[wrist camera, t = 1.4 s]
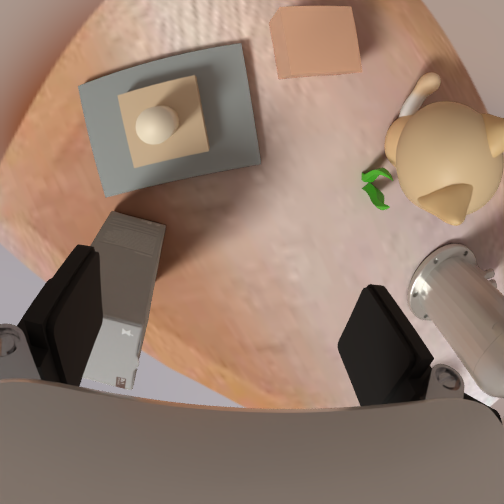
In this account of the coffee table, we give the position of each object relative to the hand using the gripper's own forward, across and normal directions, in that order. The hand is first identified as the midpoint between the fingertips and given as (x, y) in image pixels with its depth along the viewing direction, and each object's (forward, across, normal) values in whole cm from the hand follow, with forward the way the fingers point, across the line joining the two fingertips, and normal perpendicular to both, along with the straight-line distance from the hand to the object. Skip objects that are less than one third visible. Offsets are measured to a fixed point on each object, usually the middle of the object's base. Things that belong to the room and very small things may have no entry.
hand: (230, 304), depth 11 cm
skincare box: (+23, +8, +11) cm, 27 cm away
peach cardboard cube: (+23, -5, -13) cm, 27 cm away
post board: (+23, +6, -3) cm, 24 cm away
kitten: (+23, -18, -6) cm, 30 cm away
